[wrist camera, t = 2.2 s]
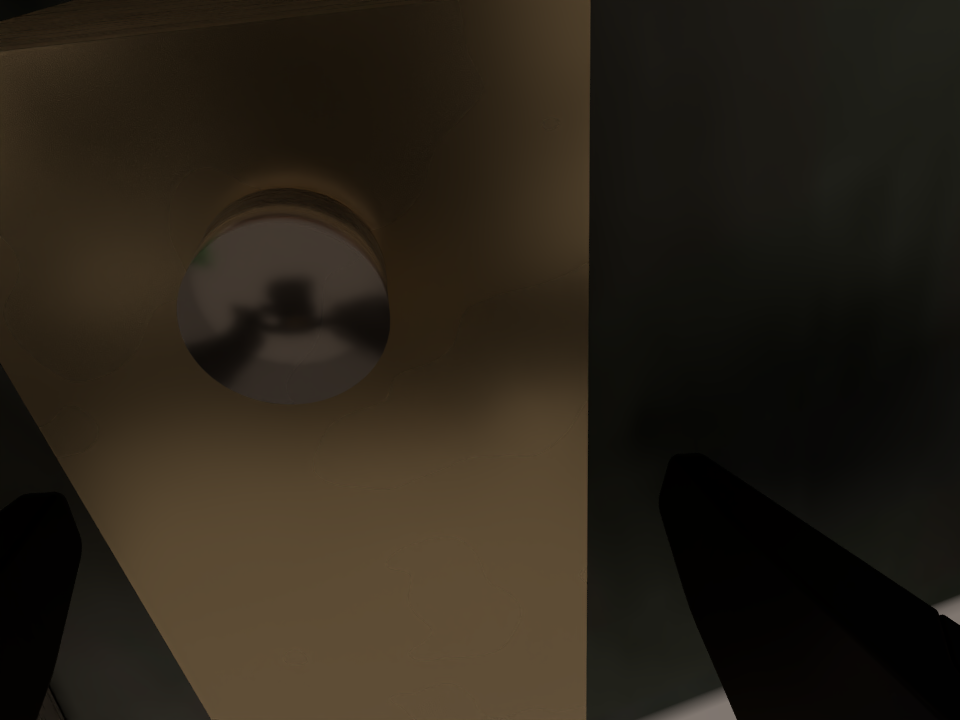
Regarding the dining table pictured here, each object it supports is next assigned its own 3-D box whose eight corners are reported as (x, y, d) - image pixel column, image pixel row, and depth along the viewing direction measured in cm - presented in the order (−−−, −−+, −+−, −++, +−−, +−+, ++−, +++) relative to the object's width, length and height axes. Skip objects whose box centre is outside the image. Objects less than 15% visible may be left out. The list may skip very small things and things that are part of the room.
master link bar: (479, -47, 7) (626, -8, 3) (529, 633, 14) (597, 906, 10) (86, -4, 7) (-265, 97, 3) (334, 671, 13) (326, 968, 10)
